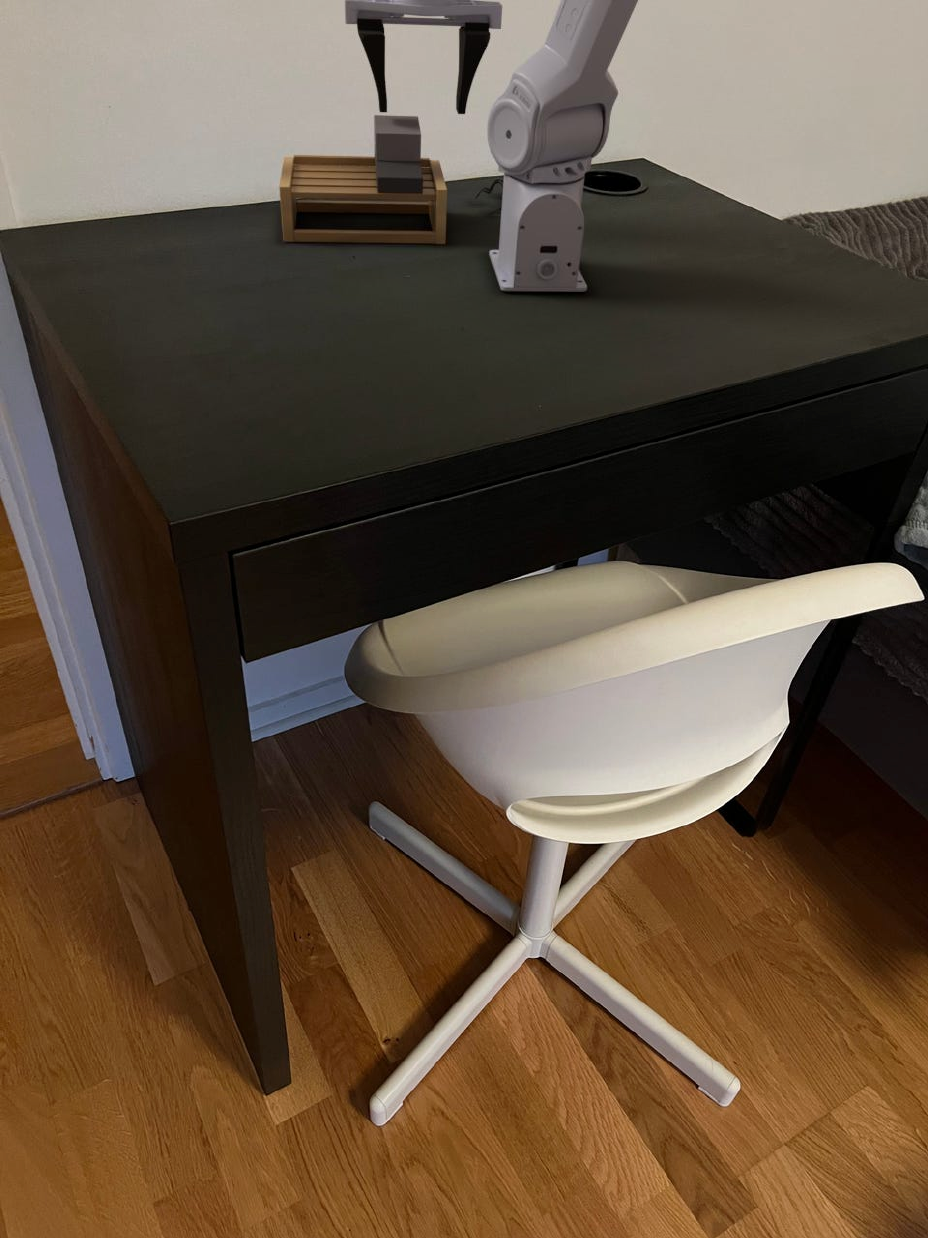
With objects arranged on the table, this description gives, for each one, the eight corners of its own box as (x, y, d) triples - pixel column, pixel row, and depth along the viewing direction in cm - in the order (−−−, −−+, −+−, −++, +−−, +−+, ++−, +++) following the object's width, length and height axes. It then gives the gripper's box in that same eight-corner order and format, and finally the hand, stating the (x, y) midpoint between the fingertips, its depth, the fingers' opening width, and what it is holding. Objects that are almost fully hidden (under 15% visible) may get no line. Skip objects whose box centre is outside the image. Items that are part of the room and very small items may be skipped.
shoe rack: (445, 244, 95) (447, 187, 91) (283, 242, 93) (279, 184, 90) (437, 211, 102) (439, 157, 99) (287, 209, 101) (283, 154, 97)
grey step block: (422, 193, 92) (423, 149, 89) (377, 192, 92) (376, 148, 89) (417, 158, 98) (418, 115, 95) (374, 157, 98) (374, 114, 95)
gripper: (498, -60, 88) (489, 102, 97) (342, -67, 87) (347, 99, 96) (509, -51, 83) (498, 119, 92) (343, -58, 82) (348, 116, 90)
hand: (421, 110), depth 93 cm, fingers open, 7 cm apart
